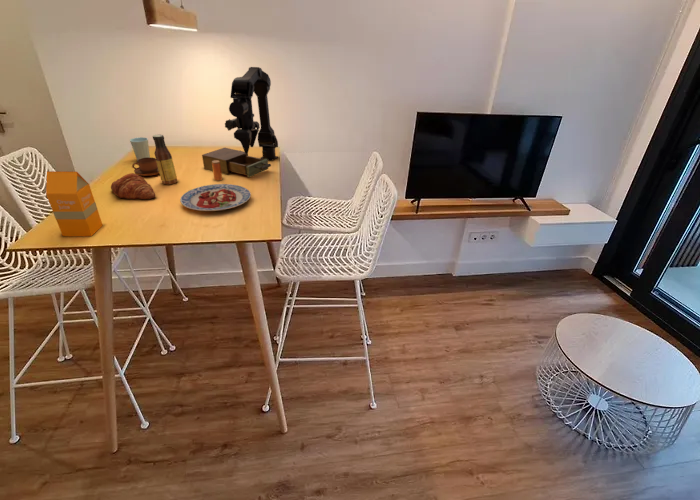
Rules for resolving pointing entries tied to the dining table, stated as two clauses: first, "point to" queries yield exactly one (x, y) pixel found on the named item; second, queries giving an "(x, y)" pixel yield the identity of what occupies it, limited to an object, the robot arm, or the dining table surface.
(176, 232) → the dining table surface
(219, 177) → the spice jar
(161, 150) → the sauce bottle
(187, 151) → the dining table surface
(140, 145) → the cup
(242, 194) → the ceramic plate
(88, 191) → the orange juice
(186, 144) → the dining table surface
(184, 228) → the dining table surface
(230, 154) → the cabinet
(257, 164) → the drawer
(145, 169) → the cup and saucer
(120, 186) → the pastry
